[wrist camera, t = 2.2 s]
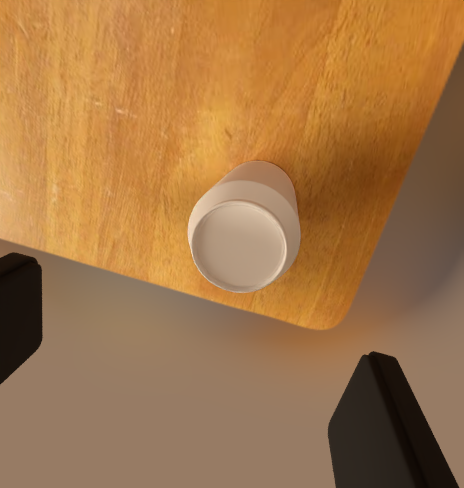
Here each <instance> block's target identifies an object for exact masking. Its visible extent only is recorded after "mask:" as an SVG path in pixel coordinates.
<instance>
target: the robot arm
mask: <svg viewBox="0 0 464 488" xmlns="http://www.w3.org/2000/svg"><path fill="white" fill-rule="evenodd" d="M41 341H42V269H41V266H40V265H39V264H38V262H37V260H36V259H35V258H33V257H30V256H26V255H23V254H19V253H10V254H8V255H6V256H4V257H1V258H0V384H1V383H3V382H4V380H6V379H7V378H8V377H9V376H10V375H11V374H12V373H13V372H14V371H15V370H16V369H17V368H19V366H20V365H22V364H23V363H24V362H25V361H26V360H27V359H28V358H29V357H30V356H31V355H32V354H33V353H34V352H36V350H37V349H38V348H39V346H40V344H41ZM328 438H329V445H330V452H331V458H332V465H333V472H334V478H335V484H336V488H459V486H458V484H457V482H456V480H455V478H454V476H453V474H452V472H451V470H450V468H449V466H448V464H447V462H446V460H445V458H444V455H443V454H442V451H441V449H440V447H439V445H438V443H437V441H436V439H435V437H434V435H433V433H432V431H431V429H430V427H429V425H428V422H427V421H426V418H425V416H424V414H423V412H422V410H421V408H420V406H419V404H418V402H417V400H416V398H415V396H414V394H413V392H412V390H411V388H410V386H409V383H408V381H407V379H406V377H405V375H404V373H403V371H402V369H401V367H400V365H399V363H398V361H397V359H396V358H395V357H393V356H388V355H385V354H382V353H377V352H374V351H373V352H371V353H369V355H363V356H362V357H361V359H360V361H359V363H358V365H357V367H356V369H355V371H354V373H353V375H352V377H351V379H350V381H349V383H348V385H347V387H346V389H345V392H344V393H343V395H342V398H341V399H340V401H339V404H338V406H337V408H336V410H335V412H334V414H333V416H332V418H331V420H330V422H329V426H328Z"/></svg>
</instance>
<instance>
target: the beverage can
mask: <svg viewBox="0 0 464 488" xmlns="http://www.w3.org/2000/svg"><path fill="white" fill-rule="evenodd" d="M188 240H189V245H190V248H191V253H192V257H193V260H194V263H195V265H196V267H197V268H198V270H199V271H200V273H201V274H202V275H203V276H204V277H205V278H206V279H207V280H208V281H209V282H211V283H212V284H214V285H215V286H217V287H219V288H221V289H224V290H227V291H231V292H237V293H247V292H253V291H257V290H260V289H262V288H264V287H266V286H268V285H269V284H271V283H272V282H273V281H274V280H276V279H278V278H279V277H281V276H282V275H283V274H284V273H285V272H286V271H287V270H288V269H289V268H290V267H291V265H292V264H293V262H294V260H295V258H296V256H297V254H298V251H299V247H300V240H301V232H300V223H299V216H298V209H297V202H296V195H295V190H294V187H293V184H292V182H291V180H290V178H289V177H288V175H287V174H286V173H285V172H284V171H283V170H282V169H281V168H279V167H278V166H276V165H274V164H272V163H269V162H266V161H258V160H257V161H248V162H245V163H242V164H240V165H238V166H237V167H235V168H234V169H232V170H231V171H230V172H229V173H228V174H226V175H225V176H224V177H223V178H222V179H221V180H220V181H219V182H218V183H216V184H215V185H214V186H213V187H212V188H211V189H210V190H209V191H208V192H206V193H205V194H204V195H203V196H202V197H201V198H200V200H199V201H198V202H197V204H196V205H195V207H194V209H193V211H192V213H191V215H190V219H189V223H188Z"/></svg>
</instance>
